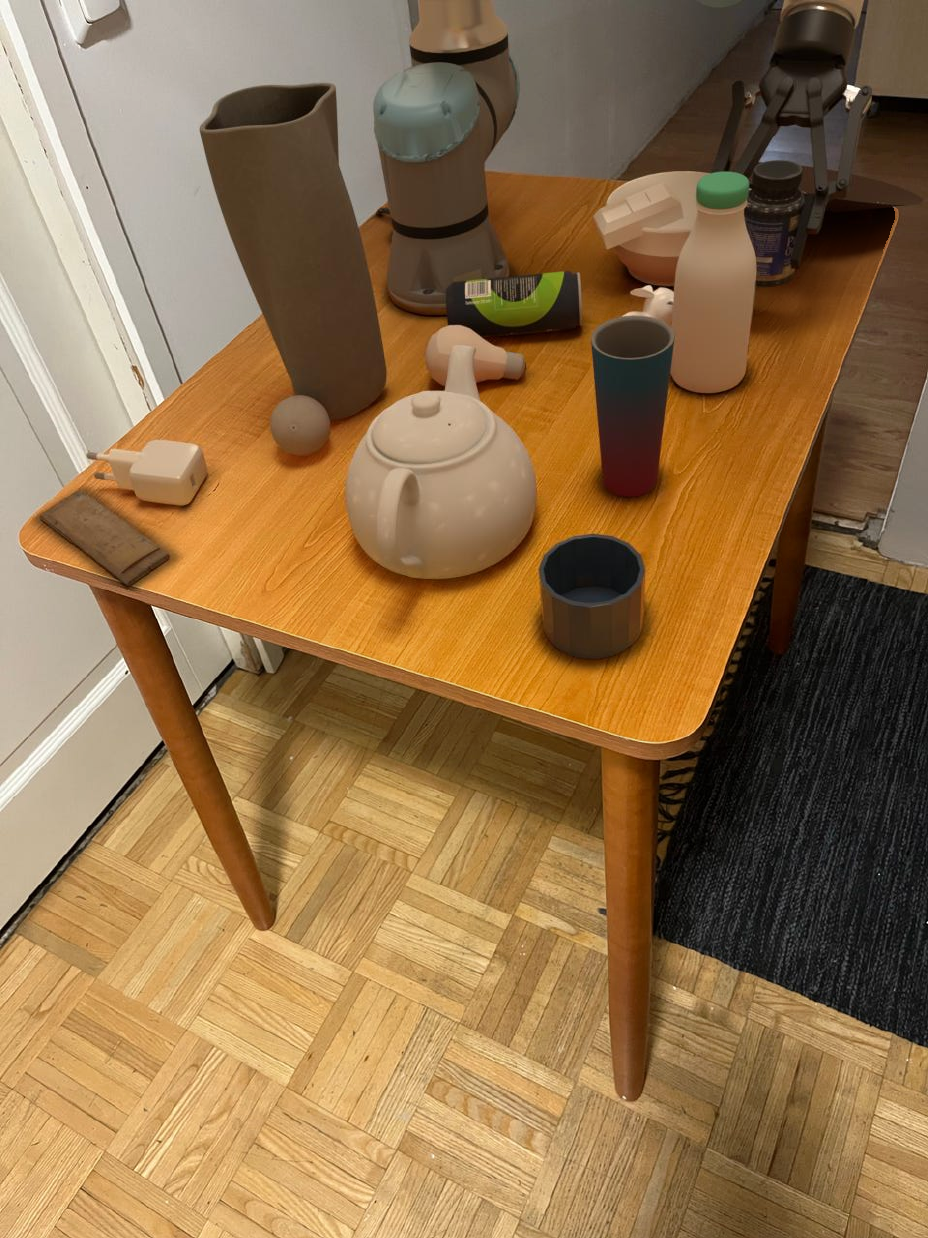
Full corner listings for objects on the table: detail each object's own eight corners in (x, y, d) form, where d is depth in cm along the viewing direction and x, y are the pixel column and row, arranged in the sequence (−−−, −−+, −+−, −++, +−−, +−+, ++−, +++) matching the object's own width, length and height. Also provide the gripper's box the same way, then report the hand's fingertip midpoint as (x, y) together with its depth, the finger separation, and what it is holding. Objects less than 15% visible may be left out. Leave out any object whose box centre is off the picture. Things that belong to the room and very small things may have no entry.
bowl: (765, 251, 115) (773, 185, 109) (693, 310, 108) (698, 242, 102) (653, 223, 123) (655, 161, 118) (579, 276, 116) (578, 212, 110)
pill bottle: (792, 290, 98) (809, 182, 90) (731, 288, 100) (743, 181, 92) (795, 262, 102) (811, 156, 94) (736, 260, 104) (748, 155, 96)
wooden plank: (83, 494, 98) (42, 522, 96) (78, 485, 97) (35, 512, 95) (171, 557, 88) (127, 589, 86) (166, 547, 87) (121, 579, 85)
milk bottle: (745, 396, 96) (768, 197, 81) (667, 394, 97) (676, 200, 83) (745, 354, 101) (767, 160, 86) (671, 354, 102) (681, 163, 88)
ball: (318, 463, 100) (345, 413, 98) (305, 470, 94) (334, 417, 92) (268, 433, 99) (295, 382, 98) (252, 437, 93) (281, 384, 92)
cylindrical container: (525, 611, 79) (520, 558, 74) (607, 574, 81) (607, 520, 76) (576, 674, 73) (573, 621, 69) (662, 633, 75) (665, 579, 71)
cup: (673, 462, 90) (681, 317, 79) (659, 508, 86) (666, 362, 75) (602, 454, 92) (601, 312, 81) (585, 498, 88) (581, 355, 77)
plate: (722, 156, 134) (732, 128, 132) (918, 218, 126) (932, 189, 124) (663, 174, 113) (673, 141, 110) (895, 250, 105) (911, 216, 103)
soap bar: (684, 217, 106) (679, 195, 104) (606, 249, 107) (601, 228, 105) (671, 199, 109) (667, 177, 107) (597, 230, 110) (591, 209, 109)
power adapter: (112, 463, 99) (86, 499, 95) (98, 425, 96) (71, 461, 92) (212, 475, 98) (190, 513, 94) (202, 437, 94) (179, 475, 90)
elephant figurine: (692, 265, 95) (678, 250, 100) (588, 331, 98) (579, 314, 104) (722, 326, 99) (706, 309, 104) (620, 388, 102) (610, 368, 107)
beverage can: (448, 343, 106) (583, 331, 105) (443, 285, 104) (580, 271, 102) (453, 335, 112) (581, 324, 110) (448, 280, 110) (578, 267, 108)
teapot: (314, 512, 91) (278, 390, 81) (480, 440, 96) (465, 317, 86) (401, 630, 79) (371, 504, 69) (585, 541, 84) (582, 411, 74)
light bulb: (533, 323, 101) (431, 306, 100) (532, 367, 97) (426, 350, 96) (520, 368, 106) (423, 353, 105) (519, 411, 103) (418, 396, 102)
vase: (411, 371, 106) (359, 77, 84) (371, 437, 98) (302, 131, 76) (311, 364, 109) (237, 79, 87) (265, 426, 101) (171, 131, 80)
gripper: (917, 49, 94) (857, 283, 97) (725, 45, 101) (673, 263, 103) (924, 5, 87) (859, 257, 90) (717, 3, 94) (662, 238, 96)
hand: (760, 260), depth 96 cm, fingers closed on pill bottle, 6 cm apart
